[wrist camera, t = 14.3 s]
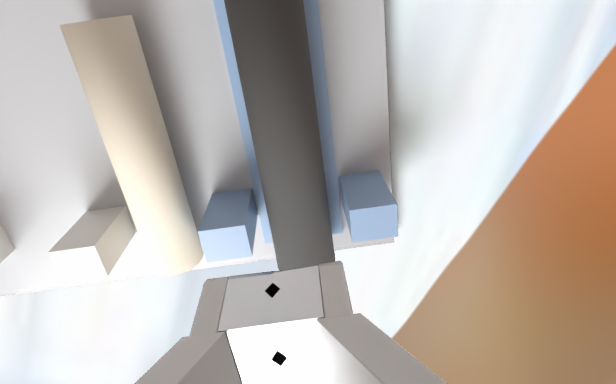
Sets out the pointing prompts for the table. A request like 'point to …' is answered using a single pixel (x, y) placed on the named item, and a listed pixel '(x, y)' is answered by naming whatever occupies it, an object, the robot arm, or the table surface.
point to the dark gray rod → (284, 126)
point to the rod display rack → (177, 138)
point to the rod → (135, 139)
